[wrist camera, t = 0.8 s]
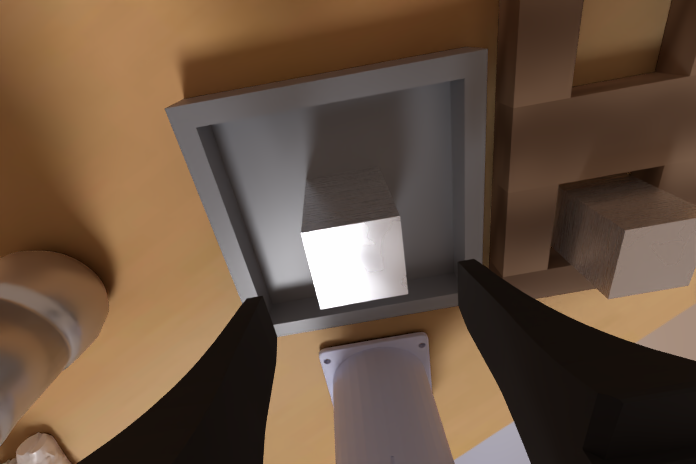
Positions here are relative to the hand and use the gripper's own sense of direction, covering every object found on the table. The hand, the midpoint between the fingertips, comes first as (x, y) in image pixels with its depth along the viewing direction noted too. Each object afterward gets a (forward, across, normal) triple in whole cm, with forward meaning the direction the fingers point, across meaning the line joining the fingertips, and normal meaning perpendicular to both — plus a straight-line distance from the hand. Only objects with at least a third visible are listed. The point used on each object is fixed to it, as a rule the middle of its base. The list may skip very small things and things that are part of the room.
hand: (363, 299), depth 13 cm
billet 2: (+9, -14, +3) cm, 17 cm away
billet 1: (+8, 0, 0) cm, 8 cm away
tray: (+9, 0, 0) cm, 9 cm away
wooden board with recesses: (+9, -14, -2) cm, 17 cm away
